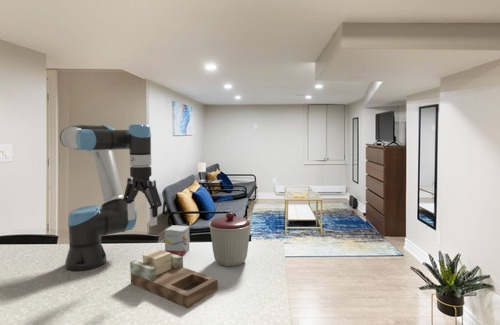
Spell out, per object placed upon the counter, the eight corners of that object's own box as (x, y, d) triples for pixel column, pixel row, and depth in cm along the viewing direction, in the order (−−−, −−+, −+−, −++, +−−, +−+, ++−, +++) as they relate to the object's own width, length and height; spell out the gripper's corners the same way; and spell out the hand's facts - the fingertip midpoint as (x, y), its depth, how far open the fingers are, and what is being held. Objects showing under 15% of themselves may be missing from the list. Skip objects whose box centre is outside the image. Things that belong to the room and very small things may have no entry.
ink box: (182, 257, 137) (181, 230, 136) (164, 255, 138) (163, 229, 137) (190, 250, 145) (189, 225, 144) (173, 249, 147) (172, 224, 146)
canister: (255, 255, 139) (255, 208, 137) (246, 272, 121) (246, 219, 119) (216, 252, 142) (216, 206, 141) (202, 268, 125) (201, 216, 123)
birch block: (143, 270, 113) (142, 254, 113) (158, 264, 119) (158, 249, 118) (155, 275, 109) (155, 259, 109) (171, 268, 115) (170, 253, 114)
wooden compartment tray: (130, 283, 112) (130, 261, 111) (162, 269, 123) (161, 250, 123) (187, 308, 95) (186, 283, 95) (217, 290, 107) (217, 267, 106)
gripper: (112, 164, 120) (114, 219, 122) (153, 169, 106) (155, 230, 108) (129, 163, 126) (131, 215, 128) (171, 167, 112) (172, 225, 114)
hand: (142, 222), depth 118 cm, fingers open, 12 cm apart
